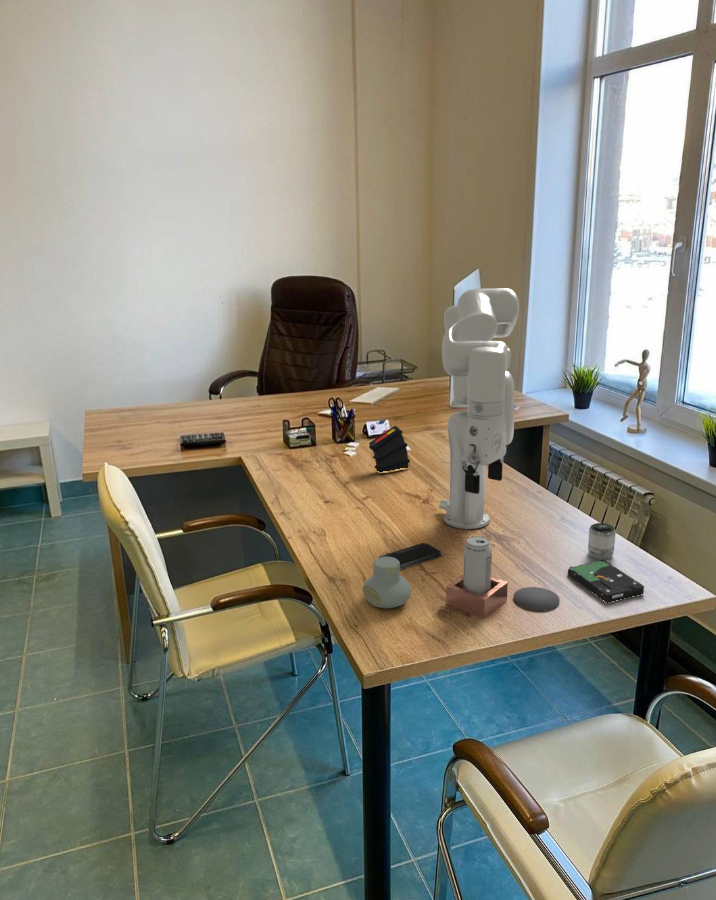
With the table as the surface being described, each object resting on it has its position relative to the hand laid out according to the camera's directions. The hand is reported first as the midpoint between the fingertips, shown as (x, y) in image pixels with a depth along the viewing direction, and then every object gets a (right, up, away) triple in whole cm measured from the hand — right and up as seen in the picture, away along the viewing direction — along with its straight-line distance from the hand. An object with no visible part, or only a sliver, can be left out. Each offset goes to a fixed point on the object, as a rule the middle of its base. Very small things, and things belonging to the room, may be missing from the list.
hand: (483, 485), depth 163 cm
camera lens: (+34, -19, +29) cm, 48 cm away
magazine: (-16, 0, +90) cm, 92 cm away
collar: (0, -26, +8) cm, 28 cm away
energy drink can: (0, -27, +8) cm, 28 cm away
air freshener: (-20, -27, +9) cm, 35 cm away
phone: (-14, -20, +30) cm, 39 cm away
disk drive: (+30, -24, +15) cm, 41 cm away
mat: (+13, -26, +8) cm, 30 cm away
